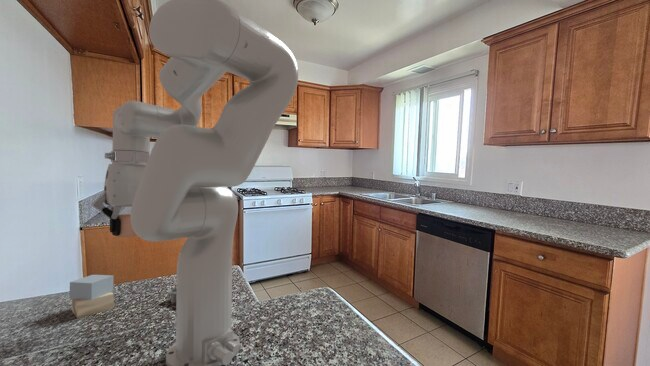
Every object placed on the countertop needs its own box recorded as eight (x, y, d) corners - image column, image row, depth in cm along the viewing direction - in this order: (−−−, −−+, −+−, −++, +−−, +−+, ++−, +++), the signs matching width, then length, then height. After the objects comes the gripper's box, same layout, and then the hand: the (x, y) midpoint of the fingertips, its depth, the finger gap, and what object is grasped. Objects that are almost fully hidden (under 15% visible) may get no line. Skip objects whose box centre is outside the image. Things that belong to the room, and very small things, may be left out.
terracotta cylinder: (145, 234, 69) (145, 214, 69) (121, 237, 65) (121, 216, 65) (137, 232, 72) (137, 213, 72) (114, 234, 68) (114, 214, 68)
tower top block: (113, 290, 73) (113, 275, 73) (91, 300, 67) (91, 283, 67) (92, 289, 74) (93, 274, 74) (69, 298, 68) (69, 282, 68)
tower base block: (113, 309, 71) (113, 293, 71) (77, 319, 66) (77, 302, 66) (105, 302, 75) (106, 287, 75) (71, 311, 70) (71, 295, 70)
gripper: (91, 155, 59) (89, 240, 59) (174, 161, 73) (172, 231, 73) (82, 157, 64) (80, 236, 64) (161, 162, 77) (160, 228, 77)
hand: (129, 232), depth 68 cm, fingers closed on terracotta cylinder, 4 cm apart
